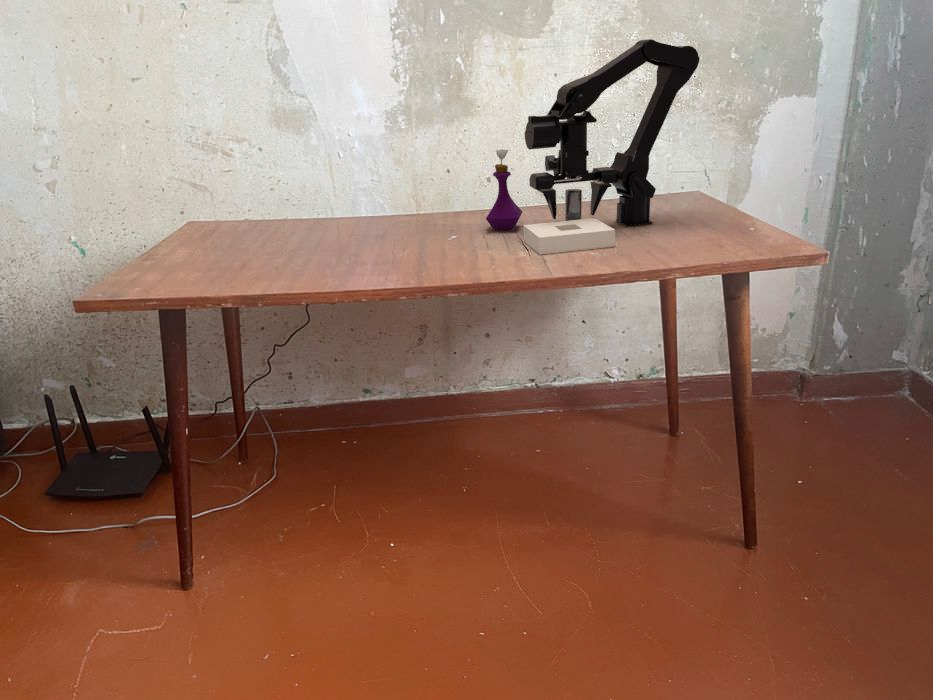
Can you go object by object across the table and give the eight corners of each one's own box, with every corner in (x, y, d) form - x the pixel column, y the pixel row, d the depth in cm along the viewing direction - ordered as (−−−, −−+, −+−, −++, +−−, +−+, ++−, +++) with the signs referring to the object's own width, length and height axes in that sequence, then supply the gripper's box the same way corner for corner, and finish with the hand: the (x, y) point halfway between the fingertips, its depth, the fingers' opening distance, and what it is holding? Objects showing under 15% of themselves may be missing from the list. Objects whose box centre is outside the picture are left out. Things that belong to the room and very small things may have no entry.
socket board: (593, 233, 156) (594, 218, 155) (614, 246, 145) (615, 229, 144) (523, 241, 153) (523, 225, 152) (539, 254, 143) (539, 237, 141)
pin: (578, 227, 162) (578, 188, 158) (583, 231, 159) (584, 191, 155) (563, 229, 161) (563, 189, 158) (568, 232, 158) (568, 192, 155)
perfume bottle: (518, 232, 161) (516, 151, 154) (486, 232, 163) (482, 152, 156) (522, 225, 168) (520, 147, 161) (491, 225, 169) (488, 148, 162)
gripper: (600, 138, 162) (599, 206, 168) (522, 145, 159) (523, 214, 165) (619, 143, 152) (617, 215, 158) (536, 150, 149) (537, 224, 155)
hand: (573, 217), depth 159 cm, fingers open, 9 cm apart
